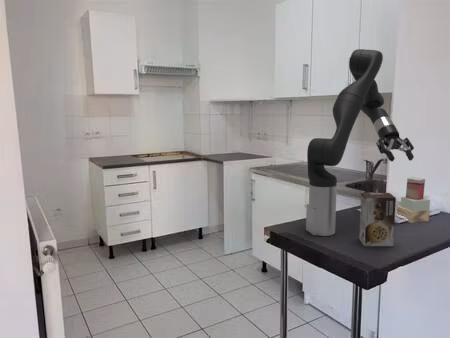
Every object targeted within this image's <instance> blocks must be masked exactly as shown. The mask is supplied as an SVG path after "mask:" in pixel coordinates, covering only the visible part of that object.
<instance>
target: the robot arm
mask: <svg viewBox="0 0 450 338" xmlns="http://www.w3.org/2000/svg"><path fill="white" fill-rule="evenodd" d="M383 56H384V55H383V53H382V52H381V50H375V49H365V48H364V49H361V48H358V49H357V48H356V49H355V50H353V51H352V53H351V55H350V57H349V61H348V68H349V71H350V73H351V75H352V77H353V79H354V80H355V81H353V82H352V83H350V84H348V85H347V86H345V87H344V88H343V89H342V90H341V91H340V92H339V93H338V96H337V98H336V100H335V101H334V103H333V106H332V116H333V119H334V122H335V127H336V129H335V131H334V134H333V136H332V137H331V138H325V137H323V138H321V137H316V138H315V137H314V138H312V139H310V141H309V143H308V146H307V151H306V152H307V157H306V158H307V177H308V181H309V183H308V184H309V185H308V187H309V188H308V204H306V207H305V208H306V210H305V212H306V218H305V219H306V221H305V230H306V231H307V232H308V233H310V235H312V236H320V237H328V236H333V235H335V233H336V213H337V189H338V188H337V183H338V179H337V177H336V175H334V174H332V173H330V172H329V171H328V170H327V169H326V168H325V166H327V167H336V166H338V165H339V164H340V162H341V161H342V158H343V156H344V153H345V151H346V148H347V144H348V141H349V139H350V135H351V133H352V129H353V128H354V125H355V123H356V121H357V119H358V116H359V114H360V112H363V114H364V115H366V116H367V117H368V118H369V119H370V121H371V123H372V124H373V126H374V130H375V132H376V134H377V136H378V138H379V139H378V140H377V141H376V142H375V143H376V146H377V148H378V150H379V153H380V154H381V155H382V154H385V156H386V157H387V159H388V161H390V162H394V160H395V159H396V157H395V156H394V154H393V152H392V151H394V150H398V151H400V152H402V153H405V156H406V157H407V160H408V161H413V159H414V157H415V156H414V154H413V153H412V151H414V149H415V147H414V145H413V144H412V142H411V141H410V139H409V138H408V137H405V138H403V139H402V138H401V137H400V132H399V131H398V128H397V127H396V125H395V124H394V122H393V120H392V119H391V118H390V117H389V114H388V113H387V111H386V110H385V109H384V108H383V105H384V104H385V99H384V96H382V95H383V94H381V92H379V87H378V83H377V81H376V80H375V79H376V77H377V75H378V74H379V72H380V69H381V67H382V63H383V61H384V57H383ZM391 150H392V151H391Z"/></svg>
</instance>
